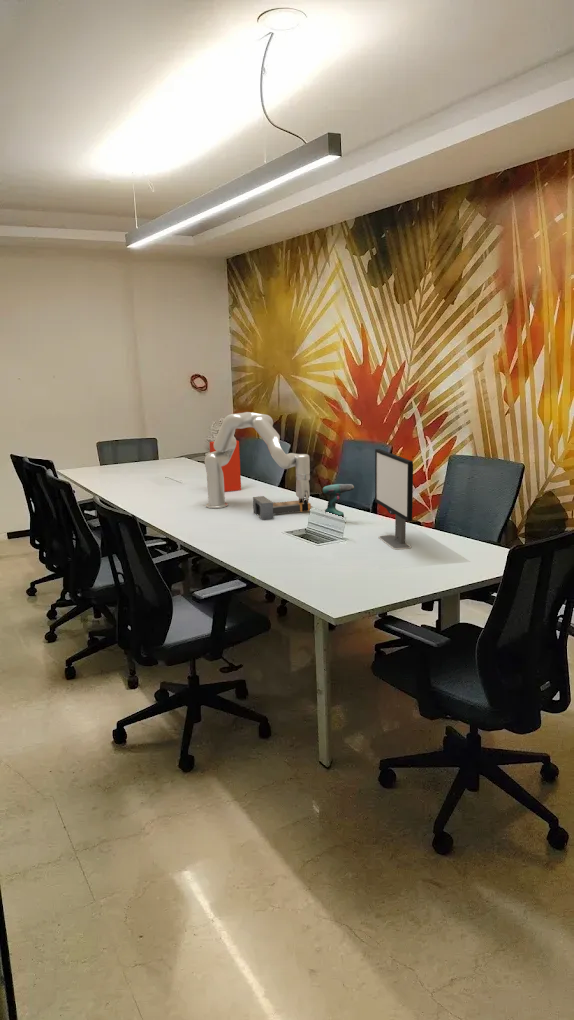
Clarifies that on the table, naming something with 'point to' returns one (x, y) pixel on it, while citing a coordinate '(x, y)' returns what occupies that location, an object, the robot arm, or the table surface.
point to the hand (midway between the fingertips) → (303, 509)
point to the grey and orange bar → (289, 508)
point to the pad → (285, 503)
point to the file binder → (231, 470)
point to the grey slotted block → (263, 507)
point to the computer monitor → (394, 493)
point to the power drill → (335, 496)
